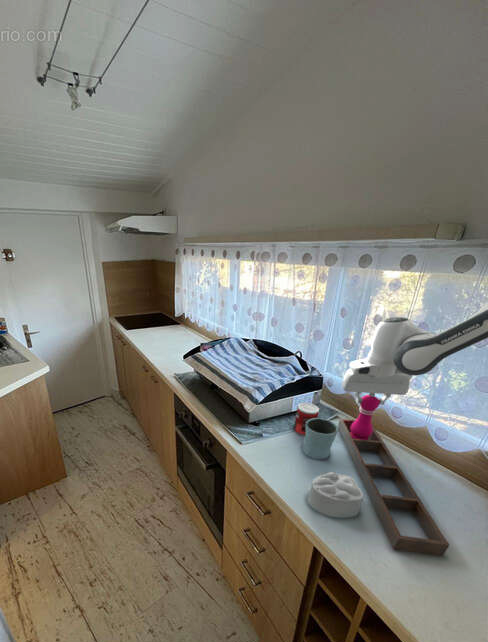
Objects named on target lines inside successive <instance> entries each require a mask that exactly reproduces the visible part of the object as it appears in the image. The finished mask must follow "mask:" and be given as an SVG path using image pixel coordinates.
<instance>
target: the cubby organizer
mask: <svg viewBox="0 0 488 642" xmlns="http://www.w3.org/2000/svg"><path fill="white" fill-rule="evenodd" d="M355 420H356V419H349V418H339V421H338V425H337V427H338V432H339V434H340V436H341V437H342V440H343V442H344V445H345V447H346V450H347V451H348V454H349V456H350V458H351V460H352V462H353V465H354V467H355V469H356V472H357V473H358V476H359V478H360V480H361V482H362V484H363V486H364V489H365V491H366V493H367V496H368V498H369V500H370V503H371V505H372V507H373V509H374V511H375V513H376V516H377V517H378V520H379V522H380V524H381V527H382V529H383V531H384V533H385V535H386V537H387V540H388V542H389V544H390V547H391V549H392V550H393V551H401V552H406V553H413V554H414V553H415V554H421V555H428V556H434V557H435V556H436V557H444V556H445V554H446V552H447V550H448V549H449V548H450V544H449V541H447V539H446V537H445V536H444V534H443V533H442V531H441V530H440V528H439V527H438V525H437V524H436V522H435V520H434V519H433V517H432V515H431V514H430V512H429V511H428V510H427V507H426V506H425V504H424V503H423V501H422V500H421V498H420V497H419V495H418V493H417V492H416V491H415V489H414V487H413V486H412V484H411V482H409V479H408V478H407V476H406V475H405V474H404V472H403V470H402V469H401V467H400V465H399V463H398V462H397V461H396V459H395V458H394V456H393V455H392V453H391V451H390V450H389V448H388V447H387V445H386V444H385V442H384V441H383V439H382V438H381V436H380V434H379V433H378V431H377V430H376V428H375V427H374V425H373V424H372V428H373V431H372V434H371V435H370V436H369V439H368V440H361V439H352V437H351V435H350V433H351V432H350V431H351V430H350V427H351V425H352V423H353V422H354V421H355ZM360 452H370V453H377V454H378V456H379V457H380V459H381V460H382V462H383V464H376V463H366V462H365V460H364V458H363V456H362V455H361V453H360ZM373 477H374V478H385V479H392V480H393V481H394V483H395V485H396V487H397V488H398V491H400V493H401V495H402V496H397V495H390V494H389V495H387V494H381V493H380V491H379V489H378V487H377V485H376V482H375V481H374V479H373ZM389 510H393V511H402V512H410V513H412V514H413V515H414V517H415V519H416V521H417V522H418V524H419V526H420V527H421V529H422V531H423V533H424V534H425V536H426V537H427V538H423V537H415V536H407V535H401V533H400V531H399V529H398V527H397V525H396V523H395V520H394V518H393V517H392V514H391V513H390V511H389Z"/></svg>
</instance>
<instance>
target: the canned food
mask: <svg viewBox="0 0 488 642" xmlns="http://www.w3.org/2000/svg"><path fill="white" fill-rule="evenodd" d="M319 413H320V407H318V406H317V405H316V404H314V403H311V402H301V403H299V404H298V405H297V407H296V412H295V419H294V425H293V429H294V431H295V432H296V433H297V434H299V435H302V436H305V435H306V433H305V432H306V422H307V421H308V420H310V419H312V418H319Z"/></svg>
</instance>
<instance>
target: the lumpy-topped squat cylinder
mask: <svg viewBox="0 0 488 642" xmlns="http://www.w3.org/2000/svg"><path fill="white" fill-rule="evenodd" d="M357 483H358V482H357V481H356V480H355V479H354V478H353V477H351V476H349V475H346V474H340V473H336V472H333V471H330V472H327V473H325V474H324V473H323V474H321V475H319V476H317V477H315V478H314V479H313V481H312V482H311V485H310V490H309V493H308V498H307V503H308V504H309V506H310V507H311V508H312V509H314V510H315V511H317V512H318V513H320V514H322V515H325V516H328V517H331V518H353V517H356V516H357V515H358V514H359V512H360V510H361V507H362V504H363V501H364V498H365V494H364V492H363V491H362V489H361V488H360V487H359V486H358V484H357Z"/></svg>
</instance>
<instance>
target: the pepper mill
mask: <svg viewBox="0 0 488 642" xmlns="http://www.w3.org/2000/svg"><path fill="white" fill-rule="evenodd" d="M375 395H376V393H368V394H364V395H363V396H362V397H361V398H362V399H363V400H362V401H361V402H362V403H359V405H360V406H359V409H358V410H359V415H358V417H357V418H356V419H354V420H355V421H354V422H353V423H352V425H351V427H350V430H349V431H350V432H349V433H350V435H351V437H352V439H361V440H370V438H369V436H370V435H371V434H372V431H373V428H372V425H373V423H372V417H373V415H375V414H376V409H378V408H379V406H380V405H379V397H377V396H375Z"/></svg>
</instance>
